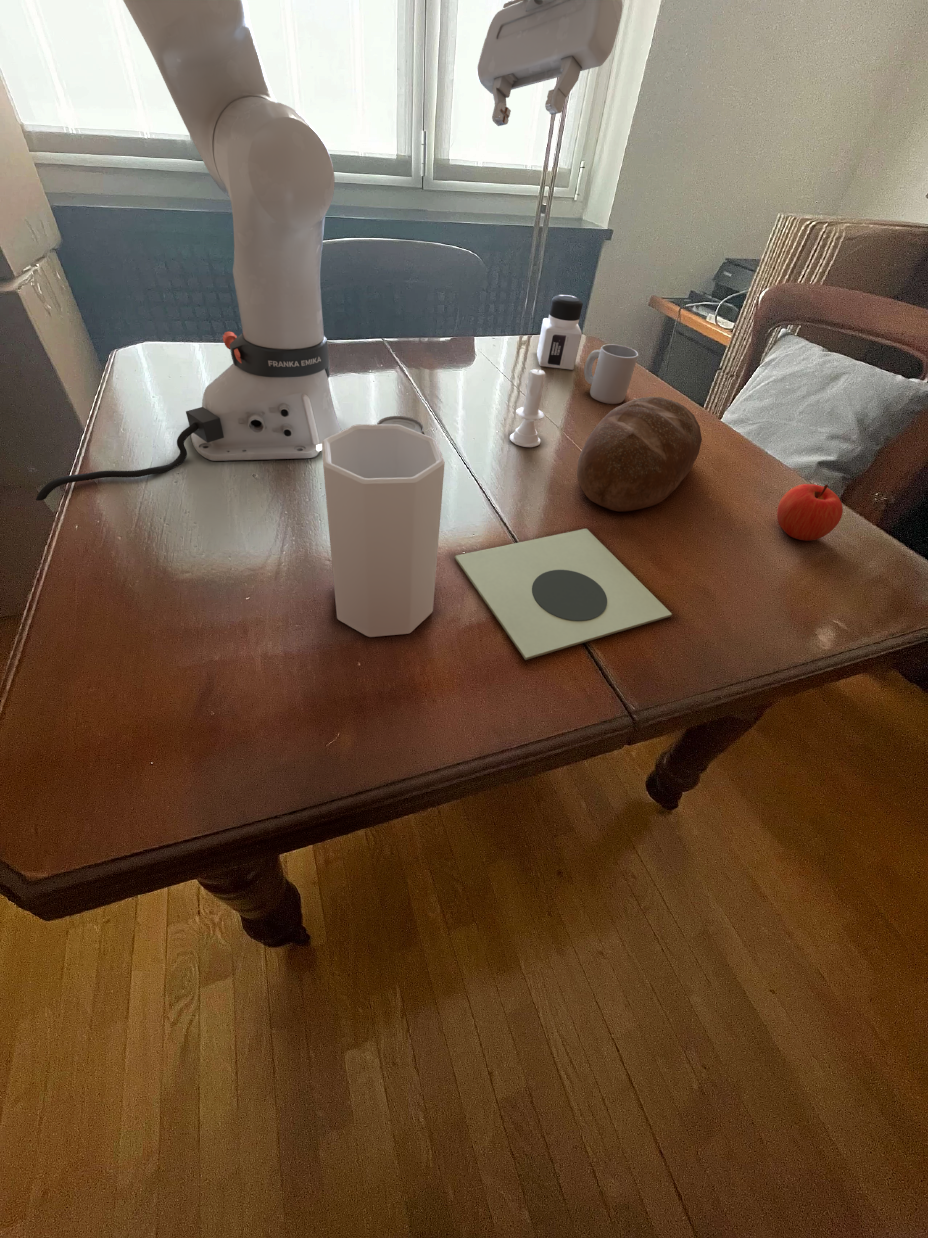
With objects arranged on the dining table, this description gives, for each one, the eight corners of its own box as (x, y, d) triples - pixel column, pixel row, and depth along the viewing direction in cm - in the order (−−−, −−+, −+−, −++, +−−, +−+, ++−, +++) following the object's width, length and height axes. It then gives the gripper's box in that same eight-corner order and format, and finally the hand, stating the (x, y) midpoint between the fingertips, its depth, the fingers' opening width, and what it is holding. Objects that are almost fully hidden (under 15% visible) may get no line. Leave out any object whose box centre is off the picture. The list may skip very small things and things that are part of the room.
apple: (773, 511, 84) (801, 464, 79) (828, 532, 82) (860, 484, 76) (761, 533, 79) (789, 484, 74) (819, 556, 77) (853, 507, 71)
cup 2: (614, 407, 107) (628, 360, 101) (571, 391, 111) (581, 344, 105) (630, 398, 112) (644, 352, 105) (588, 382, 116) (599, 337, 109)
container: (573, 370, 120) (589, 304, 111) (539, 366, 120) (551, 300, 111) (569, 357, 126) (583, 294, 117) (536, 354, 125) (548, 290, 116)
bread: (551, 493, 82) (569, 419, 74) (621, 429, 100) (641, 365, 92) (650, 533, 76) (680, 459, 69) (704, 458, 95) (733, 393, 87)
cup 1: (420, 648, 57) (430, 493, 44) (317, 627, 57) (297, 468, 44) (442, 581, 65) (456, 433, 52) (351, 563, 65) (342, 413, 52)
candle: (546, 444, 93) (562, 372, 85) (522, 450, 91) (536, 376, 82) (527, 430, 96) (540, 359, 88) (503, 436, 94) (514, 363, 85)
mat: (525, 660, 57) (526, 657, 57) (454, 558, 68) (455, 554, 68) (671, 616, 64) (672, 613, 64) (585, 530, 75) (586, 527, 75)
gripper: (482, -13, 71) (455, 115, 75) (615, -72, 58) (572, 85, 63) (513, 23, 75) (485, 142, 80) (642, -24, 63) (600, 119, 67)
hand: (524, 117), depth 71 cm, fingers open, 8 cm apart
